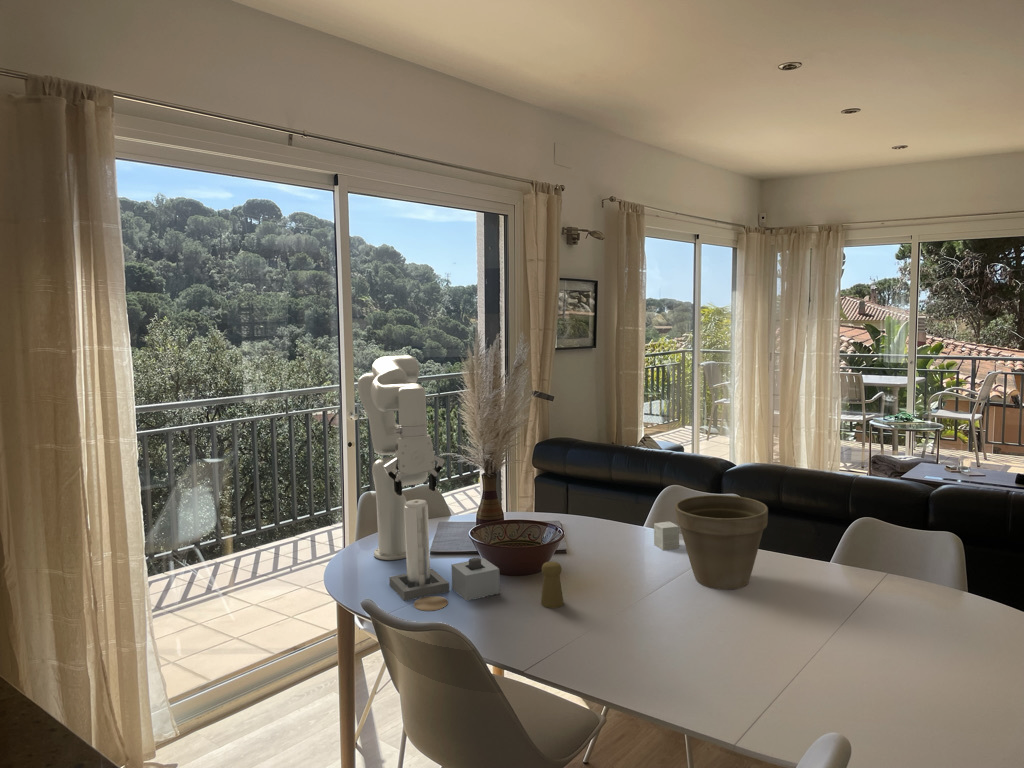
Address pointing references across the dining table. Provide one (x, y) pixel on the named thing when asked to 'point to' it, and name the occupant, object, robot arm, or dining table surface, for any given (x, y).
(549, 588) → the pepper shaker
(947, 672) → the dining table surface
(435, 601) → the pad
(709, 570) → the plant pot
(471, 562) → the plunger
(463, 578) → the housing
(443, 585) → the collar
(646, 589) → the dining table surface
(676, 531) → the grey cube
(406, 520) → the air filter
